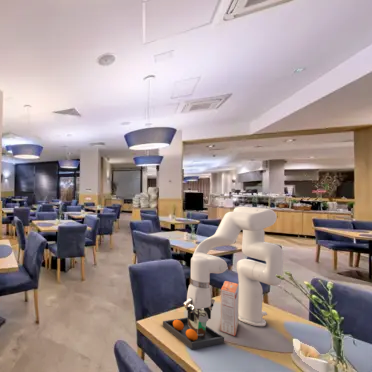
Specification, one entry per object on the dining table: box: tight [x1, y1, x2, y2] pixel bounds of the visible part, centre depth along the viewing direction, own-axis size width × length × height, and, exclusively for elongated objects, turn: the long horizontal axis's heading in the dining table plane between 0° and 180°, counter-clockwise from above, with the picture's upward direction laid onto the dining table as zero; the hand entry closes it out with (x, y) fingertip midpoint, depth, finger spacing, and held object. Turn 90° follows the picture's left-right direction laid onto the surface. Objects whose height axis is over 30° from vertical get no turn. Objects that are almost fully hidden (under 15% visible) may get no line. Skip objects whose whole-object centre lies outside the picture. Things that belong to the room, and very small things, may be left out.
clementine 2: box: [186, 329, 198, 341], centre depth 104 cm, size 5×5×5 cm
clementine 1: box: [173, 319, 184, 331], centre depth 112 cm, size 5×5×5 cm
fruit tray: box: [162, 316, 225, 350], centre depth 109 cm, size 18×17×3 cm
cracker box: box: [220, 280, 239, 337], centre depth 115 cm, size 14×6×21 cm, turn 134°
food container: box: [188, 305, 209, 337], centre depth 110 cm, size 12×6×10 cm, turn 171°
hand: (199, 318), depth 110 cm, fingers open, 9 cm apart
